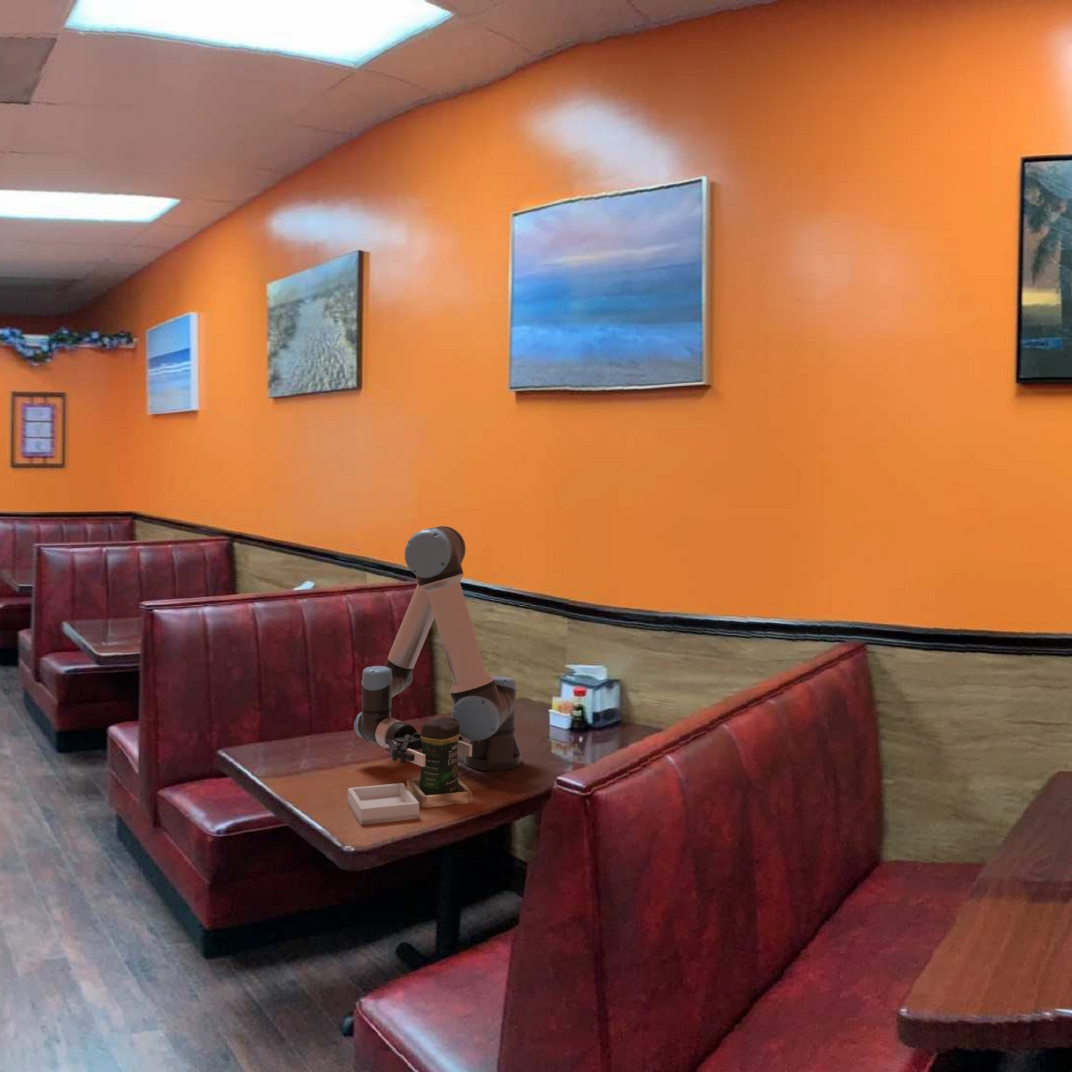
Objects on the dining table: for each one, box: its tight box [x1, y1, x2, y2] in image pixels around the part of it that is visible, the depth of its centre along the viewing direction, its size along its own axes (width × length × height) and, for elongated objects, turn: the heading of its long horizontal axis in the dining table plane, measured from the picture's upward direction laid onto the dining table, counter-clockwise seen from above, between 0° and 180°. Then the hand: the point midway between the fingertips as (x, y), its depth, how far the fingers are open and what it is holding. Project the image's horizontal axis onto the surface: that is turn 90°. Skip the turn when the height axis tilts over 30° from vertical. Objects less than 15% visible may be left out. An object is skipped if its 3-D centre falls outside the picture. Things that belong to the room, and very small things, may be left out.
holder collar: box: [406, 777, 473, 809], centre depth 241 cm, size 12×14×2 cm
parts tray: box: [347, 782, 420, 826], centre depth 230 cm, size 13×15×4 cm
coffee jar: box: [419, 716, 461, 796], centre depth 241 cm, size 10×8×19 cm
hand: (447, 755), depth 238 cm, fingers open, 13 cm apart
